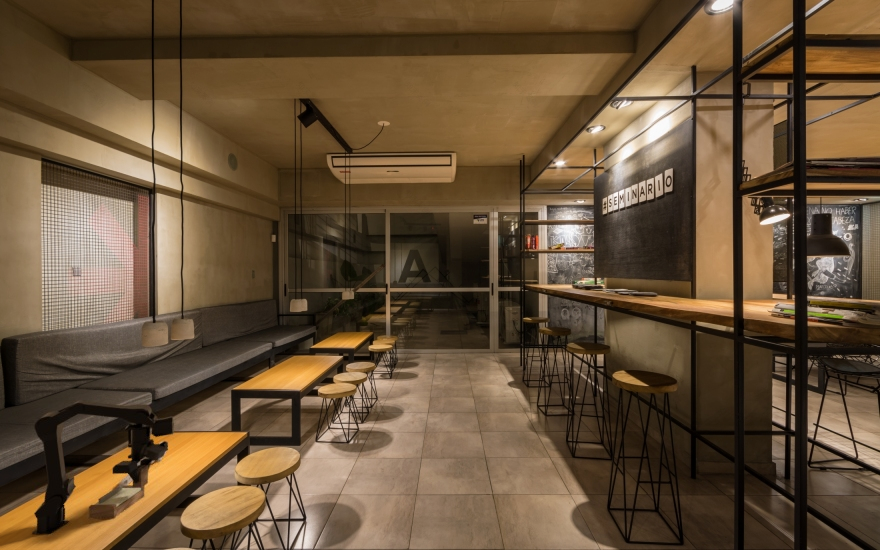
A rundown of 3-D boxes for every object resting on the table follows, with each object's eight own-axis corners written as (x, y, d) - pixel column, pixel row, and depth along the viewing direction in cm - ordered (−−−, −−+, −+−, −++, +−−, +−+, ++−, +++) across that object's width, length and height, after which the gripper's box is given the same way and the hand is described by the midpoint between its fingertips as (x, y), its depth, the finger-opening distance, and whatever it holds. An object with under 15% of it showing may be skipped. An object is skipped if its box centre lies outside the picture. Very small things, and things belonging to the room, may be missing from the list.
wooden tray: (113, 518, 134) (114, 506, 134) (88, 518, 134) (89, 506, 134) (144, 496, 148) (144, 485, 148) (121, 496, 148) (121, 485, 148)
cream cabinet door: (116, 506, 135) (116, 500, 135) (93, 507, 135) (93, 500, 135) (141, 489, 147) (141, 483, 147) (119, 489, 147) (119, 484, 147)
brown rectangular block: (141, 487, 140) (141, 469, 140) (132, 487, 140) (132, 469, 140) (147, 483, 143) (148, 464, 143) (139, 483, 143) (139, 465, 143)
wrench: (119, 495, 154) (165, 454, 184) (123, 495, 154) (169, 454, 184) (117, 477, 153) (164, 438, 183) (122, 476, 154) (168, 438, 183)
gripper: (142, 449, 133) (142, 494, 132) (178, 429, 151) (178, 468, 151) (111, 450, 132) (110, 494, 132) (151, 429, 151) (150, 468, 151)
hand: (140, 480), depth 141 cm, fingers closed on brown rectangular block, 3 cm apart
